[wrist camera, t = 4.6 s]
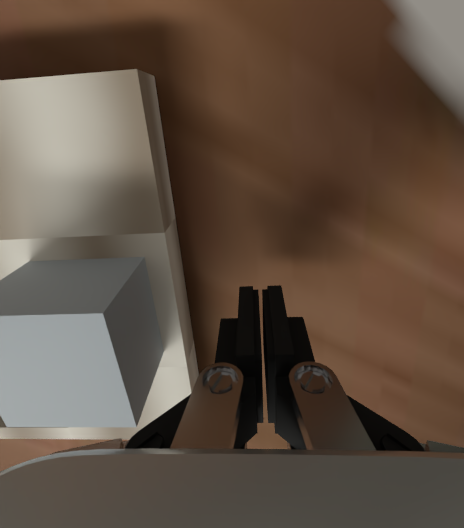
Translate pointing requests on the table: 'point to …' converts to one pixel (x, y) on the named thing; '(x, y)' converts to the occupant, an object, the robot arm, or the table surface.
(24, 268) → the block
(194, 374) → the board
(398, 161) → the table surface
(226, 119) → the table surface
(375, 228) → the table surface
